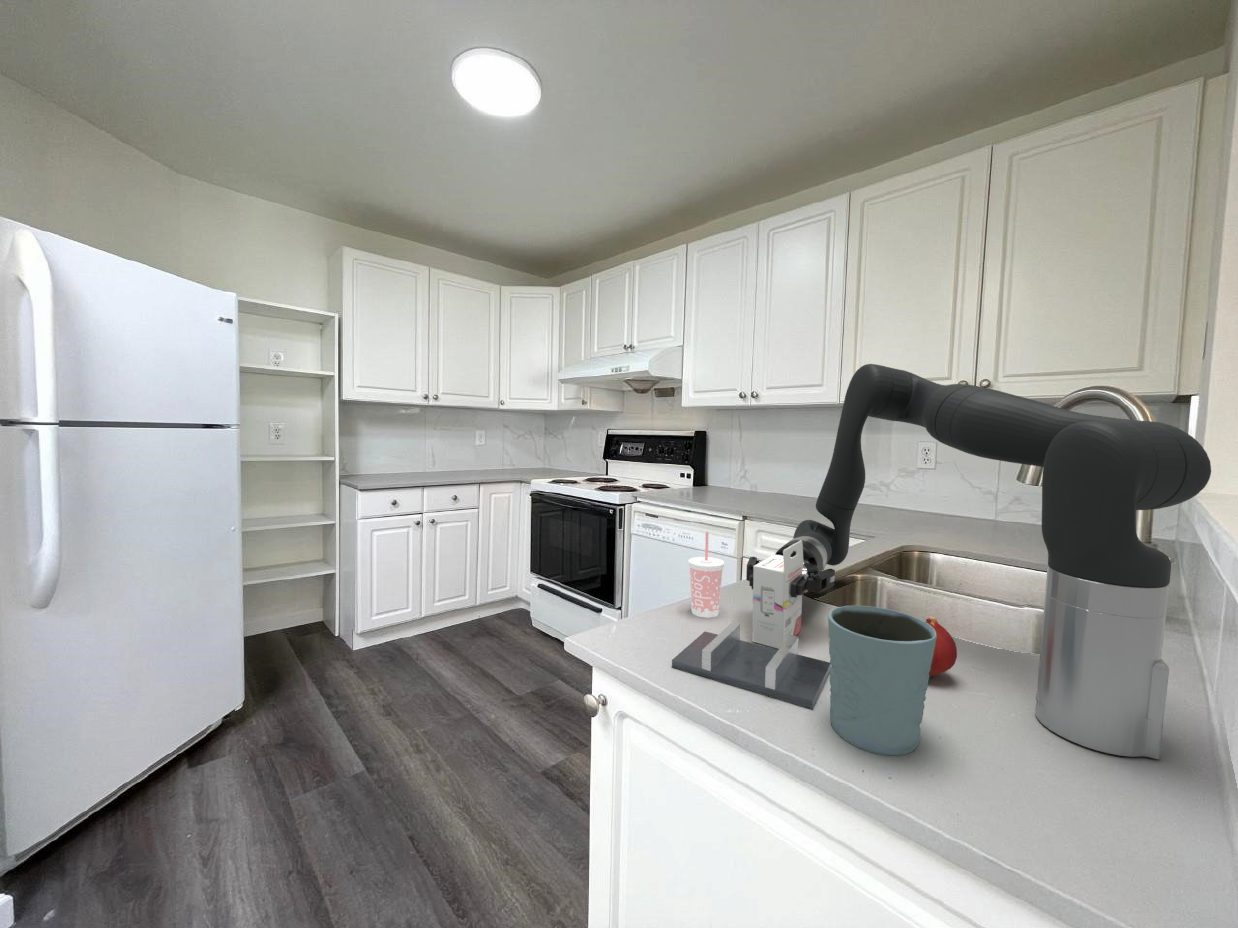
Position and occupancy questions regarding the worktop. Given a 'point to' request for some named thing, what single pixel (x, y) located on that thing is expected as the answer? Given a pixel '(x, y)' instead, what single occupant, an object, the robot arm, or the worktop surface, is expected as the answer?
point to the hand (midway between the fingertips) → (773, 586)
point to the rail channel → (756, 666)
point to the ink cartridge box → (777, 597)
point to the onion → (942, 649)
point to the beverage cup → (705, 584)
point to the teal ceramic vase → (878, 677)
